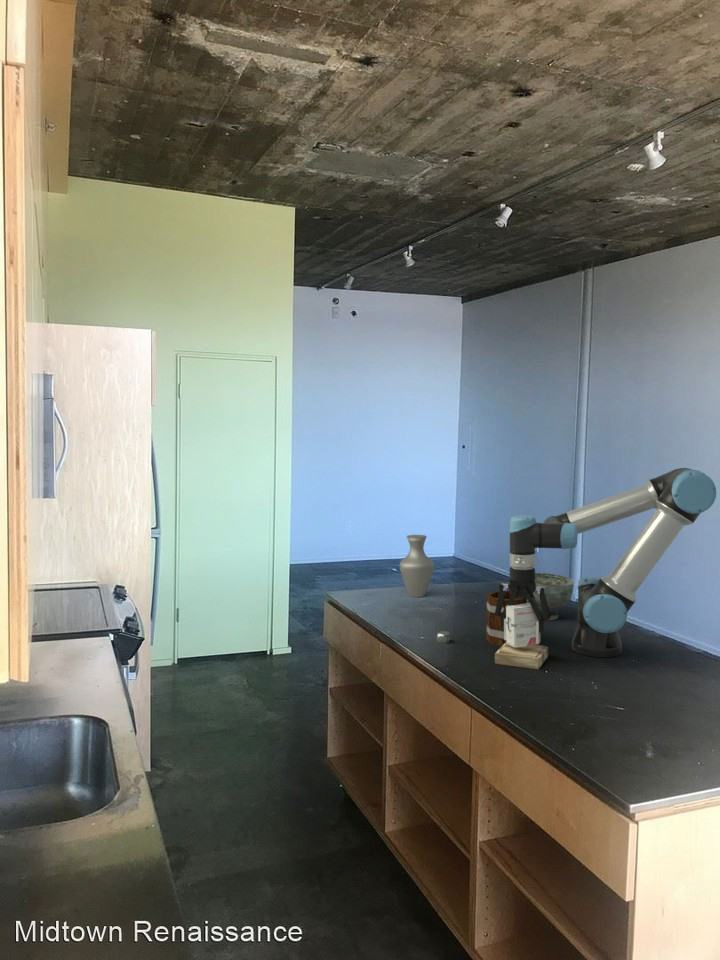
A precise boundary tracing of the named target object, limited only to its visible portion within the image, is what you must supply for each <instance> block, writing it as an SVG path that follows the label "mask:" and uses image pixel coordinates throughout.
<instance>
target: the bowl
mask: <svg viewBox="0 0 720 960" xmlns="http://www.w3.org/2000/svg"><path fill="white" fill-rule="evenodd" d="M535 583H536V585H537V586H539V587H543V586H544V587H546V593H545V595H546V600H547V604H548V609H549V613H550V619H549V620H548V621H555V620H558V619H559V614H558V613H557V612H555V611H553V610H550V608H559V607H562V606H564V605H566V604H568V603H569V601H571V598H572V596H573V590H574V583H575V581H574V579H573V578H570V577H568V576H565V575H562V574H555V573H550V572H549V573H548V572H535ZM533 595H534V597H535V600H536V602H537V604H538V606H539V608H540V610H541V613H542V615H543V616H544V614H543V610H542V605H541V601H540V594H538V591H537V590H535V591H534V593H533ZM527 603H530V602H529V601H528V599H527Z"/></svg>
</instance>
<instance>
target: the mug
mask: <svg viewBox="0 0 720 960" xmlns="http://www.w3.org/2000/svg"><path fill="white" fill-rule="evenodd" d="M499 593H500V591H499V590H497V591H492V592H489V593H486V594H485V598H486V612H485V620H486V634H485V640H486V641H487V643H489V644H492V645H496V646H500V647H502V646H503V645H504V644H505V643H506V642H507V640H504V628H501V618H500V617H499V616H496V615H495V610H496V606H497V601H498V597H499ZM511 595H512V592H511V591H510V590H506V591H505V596H504V600H503V605H502V609H501V612H503V610H504V608H505V606H506V604H507V603H508V601H509V599H510V596H511ZM527 603H528V602H527V599H524V598H515V600H514V602H513V604H512V605H518V604H527Z"/></svg>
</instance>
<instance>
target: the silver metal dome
mask: <svg viewBox="0 0 720 960" xmlns="http://www.w3.org/2000/svg"><path fill="white" fill-rule="evenodd" d="M436 642H437V643H438V644H444V645H445V644H449V643H450V632H449V631H443V630H442V631H441V630H440V631H437V632H436Z"/></svg>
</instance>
